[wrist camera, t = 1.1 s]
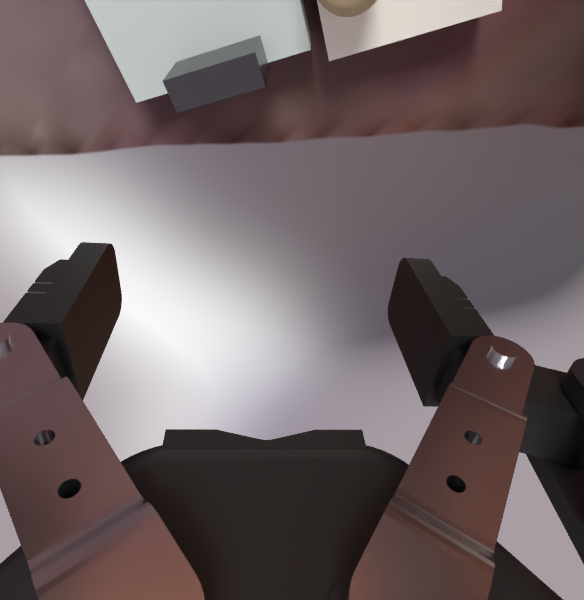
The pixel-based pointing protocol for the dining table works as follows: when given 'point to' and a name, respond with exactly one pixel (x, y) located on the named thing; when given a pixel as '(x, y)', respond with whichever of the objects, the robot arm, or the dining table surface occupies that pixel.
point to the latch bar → (347, 6)
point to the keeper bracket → (217, 74)
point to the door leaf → (192, 33)
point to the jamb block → (396, 22)
